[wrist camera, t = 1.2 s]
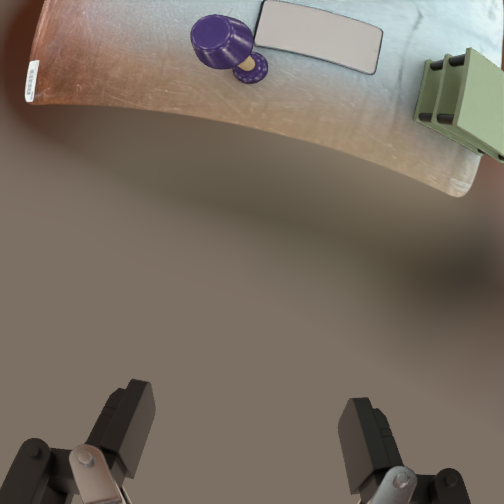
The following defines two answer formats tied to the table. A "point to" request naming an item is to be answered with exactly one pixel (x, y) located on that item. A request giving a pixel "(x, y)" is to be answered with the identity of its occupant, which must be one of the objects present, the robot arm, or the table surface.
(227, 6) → the table surface
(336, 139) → the table surface
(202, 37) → the toy lamp
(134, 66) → the table surface
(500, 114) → the shelf
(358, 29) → the smartphone
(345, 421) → the robot arm
